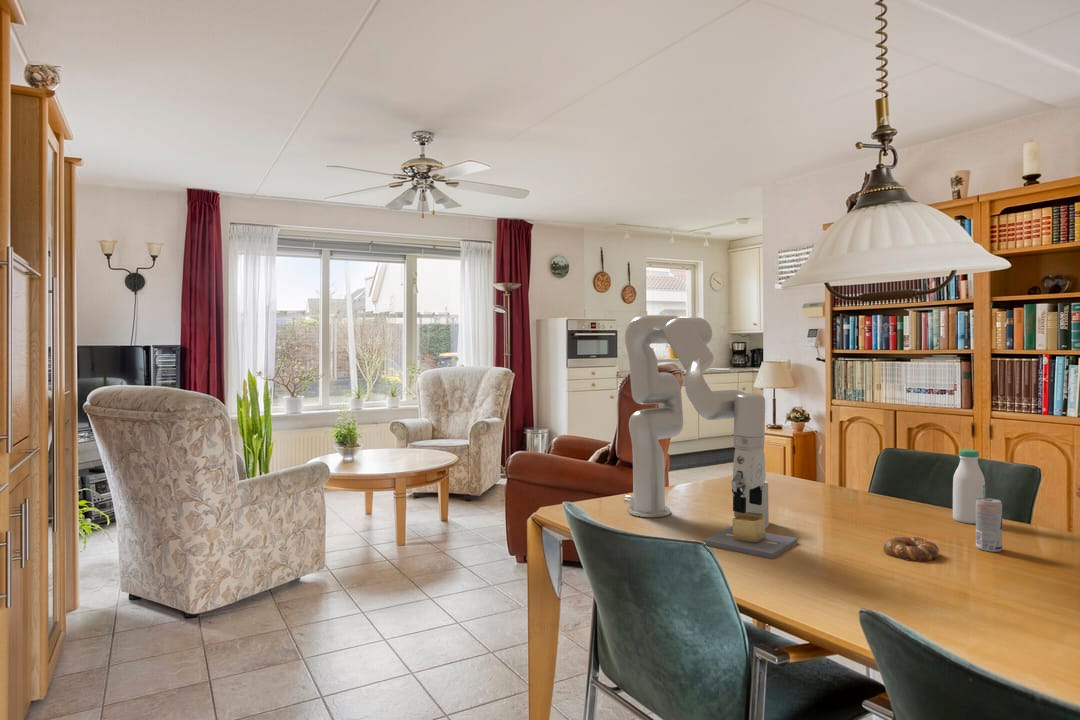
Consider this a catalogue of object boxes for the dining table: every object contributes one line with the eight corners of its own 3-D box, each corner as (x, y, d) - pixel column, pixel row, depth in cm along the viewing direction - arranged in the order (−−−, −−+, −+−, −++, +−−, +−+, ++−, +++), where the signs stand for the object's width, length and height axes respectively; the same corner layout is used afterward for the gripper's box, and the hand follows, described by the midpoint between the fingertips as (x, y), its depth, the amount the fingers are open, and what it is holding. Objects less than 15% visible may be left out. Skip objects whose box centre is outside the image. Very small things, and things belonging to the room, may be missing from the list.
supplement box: (769, 528, 184) (768, 482, 184) (741, 527, 186) (740, 482, 185) (765, 521, 191) (765, 477, 191) (738, 520, 193) (738, 476, 193)
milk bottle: (979, 526, 182) (979, 453, 182) (948, 520, 188) (948, 450, 187) (989, 521, 187) (989, 450, 186) (958, 515, 193) (958, 447, 192)
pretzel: (891, 562, 156) (890, 546, 156) (877, 547, 166) (876, 533, 166) (947, 563, 153) (947, 547, 153) (929, 549, 164) (929, 534, 164)
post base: (703, 544, 170) (703, 524, 170) (731, 530, 182) (731, 511, 182) (772, 558, 158) (772, 537, 158) (797, 542, 170) (797, 522, 170)
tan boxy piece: (767, 537, 170) (766, 511, 171) (758, 542, 166) (756, 516, 166) (741, 533, 175) (740, 509, 175) (731, 539, 171) (730, 513, 171)
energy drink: (1001, 547, 164) (1001, 499, 163) (1003, 553, 159) (1003, 503, 159) (975, 544, 166) (975, 496, 166) (976, 550, 162) (976, 501, 161)
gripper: (748, 448, 161) (747, 518, 162) (776, 439, 174) (775, 503, 175) (719, 444, 166) (718, 512, 167) (749, 435, 179) (747, 498, 180)
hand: (747, 508), depth 171 cm, fingers open, 9 cm apart
